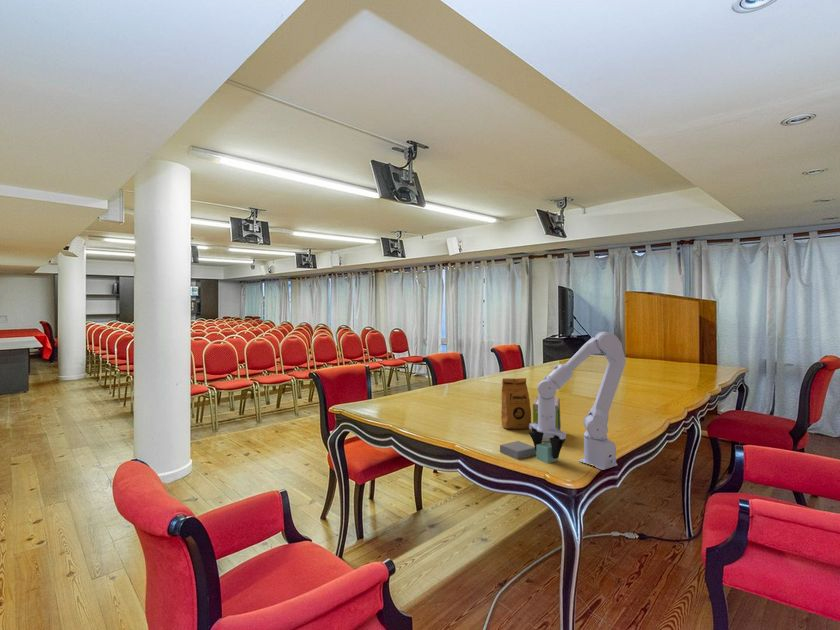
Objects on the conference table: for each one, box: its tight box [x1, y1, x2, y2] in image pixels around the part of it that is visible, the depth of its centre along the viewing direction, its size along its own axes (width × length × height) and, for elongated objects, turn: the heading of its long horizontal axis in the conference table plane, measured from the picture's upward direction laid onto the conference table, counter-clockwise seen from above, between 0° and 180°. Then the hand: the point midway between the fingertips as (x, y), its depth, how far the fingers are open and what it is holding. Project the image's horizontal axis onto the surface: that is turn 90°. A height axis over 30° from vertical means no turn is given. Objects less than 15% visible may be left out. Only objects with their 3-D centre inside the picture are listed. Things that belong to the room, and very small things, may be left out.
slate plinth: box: [499, 440, 536, 460], centre depth 148 cm, size 9×9×3 cm
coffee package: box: [500, 377, 532, 430], centre depth 181 cm, size 10×12×22 cm
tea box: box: [532, 396, 562, 442], centre depth 168 cm, size 15×10×15 cm, turn 159°
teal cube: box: [535, 441, 559, 464], centre depth 141 cm, size 5×5×5 cm
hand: (546, 454), depth 141 cm, fingers open, 7 cm apart
